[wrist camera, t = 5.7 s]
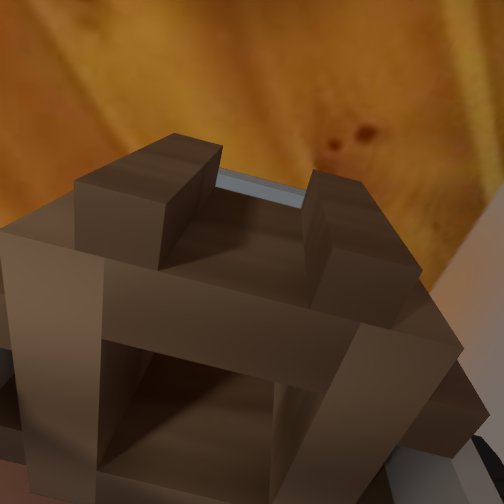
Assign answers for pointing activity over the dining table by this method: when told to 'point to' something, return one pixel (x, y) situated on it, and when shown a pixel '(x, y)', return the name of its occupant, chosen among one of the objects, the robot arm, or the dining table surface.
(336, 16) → the dining table surface
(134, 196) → the walnut gear
